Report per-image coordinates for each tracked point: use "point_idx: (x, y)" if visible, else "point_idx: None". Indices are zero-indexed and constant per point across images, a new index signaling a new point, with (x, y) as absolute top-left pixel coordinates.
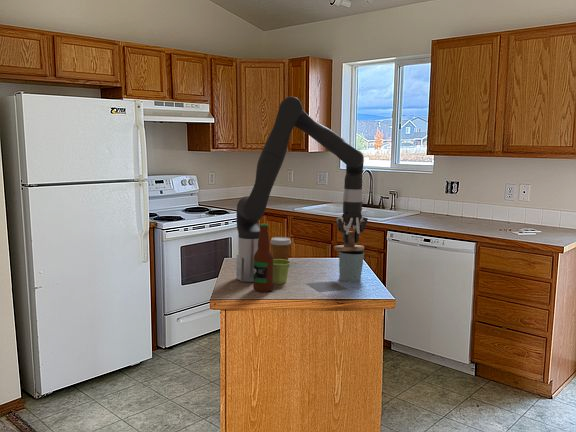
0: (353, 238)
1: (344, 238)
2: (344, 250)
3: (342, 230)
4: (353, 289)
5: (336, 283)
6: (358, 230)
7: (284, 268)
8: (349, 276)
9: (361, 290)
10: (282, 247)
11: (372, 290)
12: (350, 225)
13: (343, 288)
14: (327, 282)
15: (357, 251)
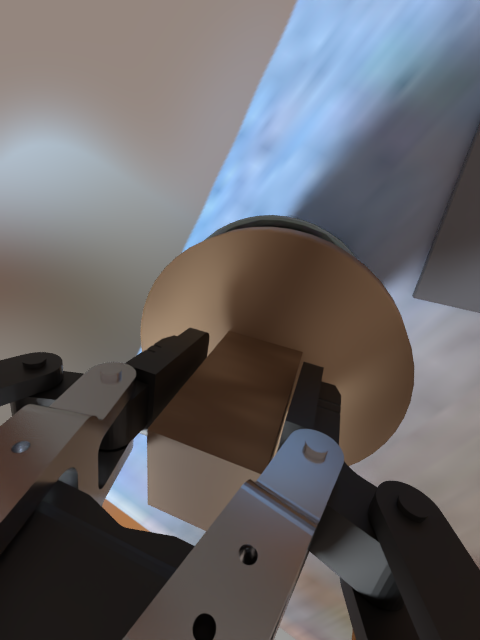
0: (207, 377)
1: (337, 421)
2: (396, 306)
3: (434, 536)
4: (426, 121)
5: (438, 250)
6: (92, 388)
7: None
8: (345, 245)
9: (400, 78)
10: None
11: (342, 48)
12: (216, 544)
13: None
14: (468, 292)
15: None
